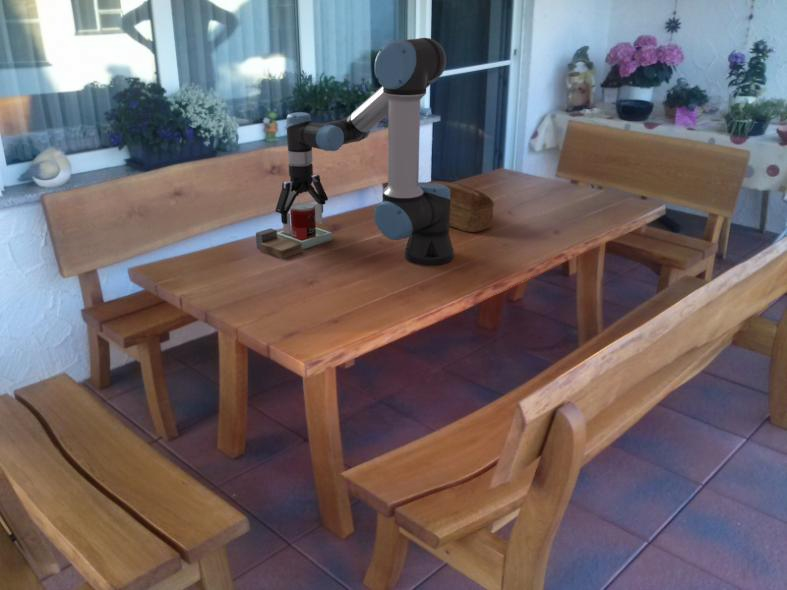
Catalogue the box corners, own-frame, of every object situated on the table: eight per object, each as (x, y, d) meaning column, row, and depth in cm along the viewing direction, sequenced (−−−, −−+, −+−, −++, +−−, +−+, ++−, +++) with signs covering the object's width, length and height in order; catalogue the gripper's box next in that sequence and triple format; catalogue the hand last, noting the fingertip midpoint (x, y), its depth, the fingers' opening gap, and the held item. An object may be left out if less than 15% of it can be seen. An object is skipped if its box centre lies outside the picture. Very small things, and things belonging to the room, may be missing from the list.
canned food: (312, 243, 241) (310, 210, 237) (288, 241, 243) (286, 208, 238) (319, 235, 248) (317, 203, 244) (295, 233, 250) (294, 201, 245)
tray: (331, 239, 246) (331, 232, 245) (302, 249, 237) (301, 242, 236) (305, 230, 254) (305, 223, 253) (275, 240, 245) (275, 233, 244)
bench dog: (277, 245, 241) (276, 230, 239) (262, 249, 237) (261, 234, 235) (271, 242, 243) (270, 228, 241) (256, 247, 239) (255, 232, 237)
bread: (475, 237, 250) (477, 197, 245) (409, 216, 270) (409, 179, 265) (497, 229, 258) (500, 190, 253) (432, 209, 278) (433, 173, 273)
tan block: (301, 253, 236) (300, 244, 235) (282, 260, 230) (281, 250, 229) (279, 246, 242) (278, 237, 241) (260, 252, 236) (259, 243, 235)
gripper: (321, 154, 246) (323, 216, 255) (261, 168, 229) (265, 234, 238) (337, 158, 242) (338, 221, 250) (277, 172, 225) (281, 239, 233)
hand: (303, 227), depth 244 cm, fingers open, 13 cm apart
